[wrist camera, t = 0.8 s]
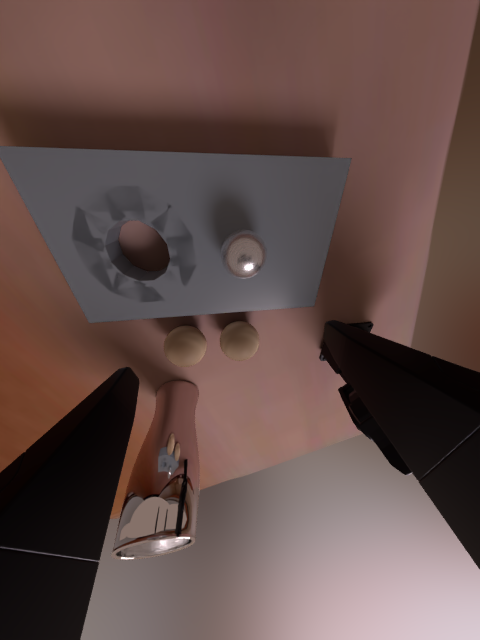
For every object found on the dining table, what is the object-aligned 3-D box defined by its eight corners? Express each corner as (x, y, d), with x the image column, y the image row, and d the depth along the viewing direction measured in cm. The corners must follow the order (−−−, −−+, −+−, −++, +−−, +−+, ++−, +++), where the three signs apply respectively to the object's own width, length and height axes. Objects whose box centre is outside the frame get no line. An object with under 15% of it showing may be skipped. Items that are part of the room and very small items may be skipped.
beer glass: (143, 388, 26) (85, 559, 14) (186, 371, 26) (167, 533, 13) (171, 411, 30) (146, 561, 18) (209, 397, 29) (211, 541, 17)
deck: (331, 163, 15) (351, 158, 13) (303, 296, 22) (314, 306, 20) (29, 154, 12) (-7, 145, 10) (102, 309, 19) (89, 323, 17)
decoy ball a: (255, 312, 22) (265, 335, 18) (253, 341, 24) (262, 367, 21) (217, 315, 21) (219, 339, 18) (219, 344, 24) (222, 371, 20)
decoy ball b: (204, 316, 21) (204, 341, 17) (208, 345, 24) (208, 373, 20) (164, 319, 21) (154, 345, 17) (171, 349, 23) (165, 378, 19)
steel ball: (262, 226, 15) (275, 232, 12) (259, 269, 17) (270, 284, 14) (217, 226, 14) (220, 233, 11) (220, 271, 16) (223, 287, 13)
